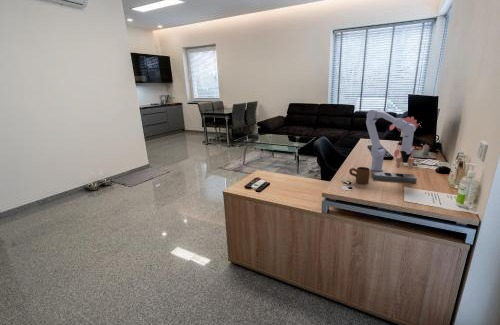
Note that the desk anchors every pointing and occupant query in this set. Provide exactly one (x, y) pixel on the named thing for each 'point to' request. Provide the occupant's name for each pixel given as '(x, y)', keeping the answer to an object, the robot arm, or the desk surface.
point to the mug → (361, 174)
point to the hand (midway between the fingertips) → (404, 162)
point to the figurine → (408, 119)
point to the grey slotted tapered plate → (394, 177)
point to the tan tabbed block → (400, 159)
